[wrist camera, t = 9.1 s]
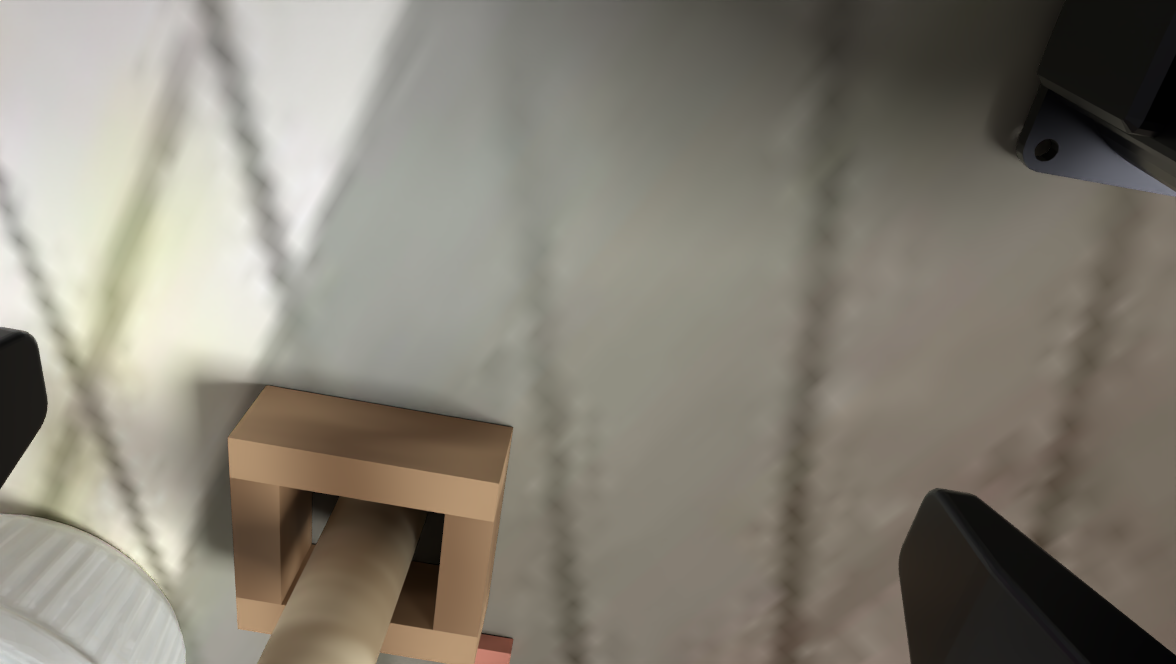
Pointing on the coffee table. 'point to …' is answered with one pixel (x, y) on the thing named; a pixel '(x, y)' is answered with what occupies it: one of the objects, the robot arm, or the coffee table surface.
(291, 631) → the dowel
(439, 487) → the wooden square frame
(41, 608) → the ramekin
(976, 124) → the coffee table surface
